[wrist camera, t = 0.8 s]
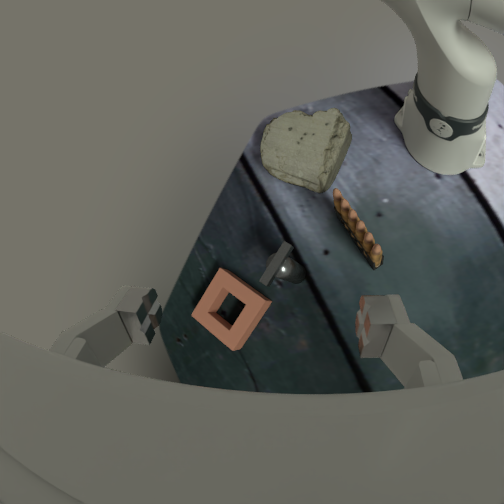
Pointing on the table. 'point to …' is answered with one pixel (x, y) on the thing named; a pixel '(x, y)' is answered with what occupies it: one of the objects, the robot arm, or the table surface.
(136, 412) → the robot arm
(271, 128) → the concrete fragment
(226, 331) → the orange square frame
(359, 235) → the ammunition clip
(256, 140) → the table surface
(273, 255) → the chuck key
